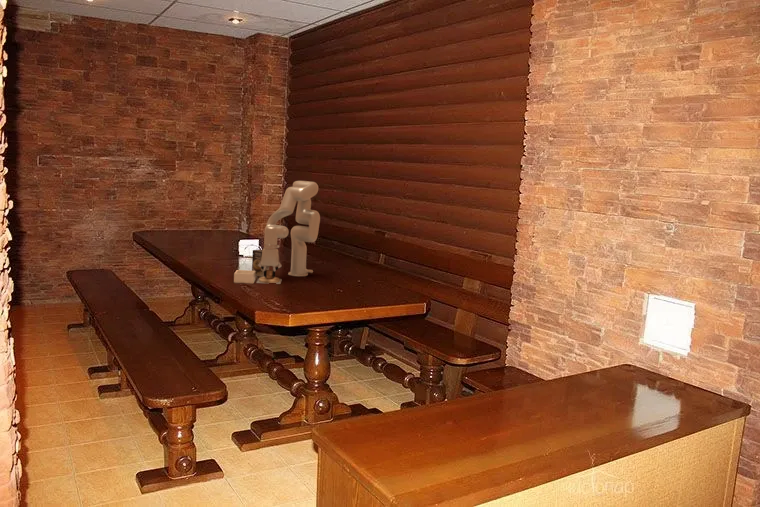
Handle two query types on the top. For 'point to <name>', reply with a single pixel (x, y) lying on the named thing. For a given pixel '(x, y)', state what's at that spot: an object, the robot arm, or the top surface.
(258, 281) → the mat
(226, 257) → the top surface
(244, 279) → the small beige box
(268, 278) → the lid
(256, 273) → the coffee box
